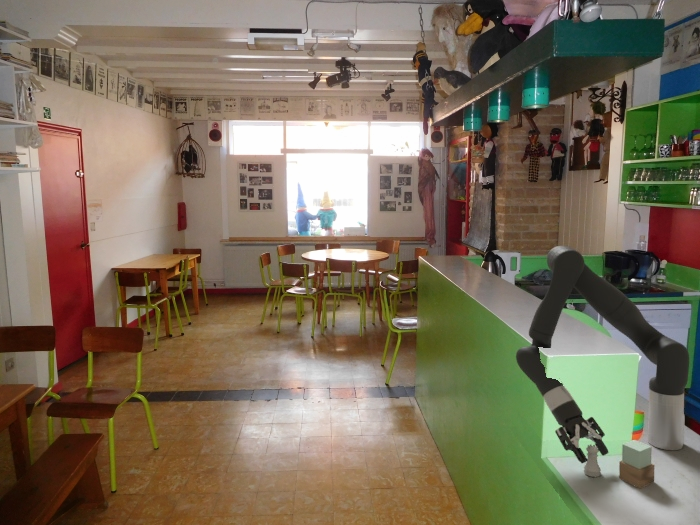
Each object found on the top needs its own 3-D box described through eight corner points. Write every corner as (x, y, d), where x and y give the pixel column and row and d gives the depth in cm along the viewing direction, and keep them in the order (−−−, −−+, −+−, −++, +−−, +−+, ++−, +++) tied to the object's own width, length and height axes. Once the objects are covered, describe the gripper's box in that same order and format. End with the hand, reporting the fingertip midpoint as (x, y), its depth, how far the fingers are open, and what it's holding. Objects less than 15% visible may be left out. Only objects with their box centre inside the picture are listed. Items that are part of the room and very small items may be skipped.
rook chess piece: (602, 478, 144) (603, 450, 143) (585, 477, 145) (585, 449, 144) (598, 469, 148) (598, 443, 147) (581, 469, 149) (582, 442, 148)
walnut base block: (633, 472, 146) (633, 455, 146) (654, 482, 141) (654, 464, 140) (619, 478, 144) (619, 461, 143) (639, 488, 138) (640, 470, 138)
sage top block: (633, 456, 145) (634, 439, 145) (651, 464, 141) (651, 446, 140) (622, 461, 143) (622, 444, 142) (639, 469, 138) (639, 451, 138)
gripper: (552, 404, 148) (586, 460, 139) (586, 394, 155) (621, 446, 146) (537, 416, 154) (569, 470, 145) (571, 405, 160) (604, 456, 151)
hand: (595, 458), depth 145 cm, fingers open, 8 cm apart
